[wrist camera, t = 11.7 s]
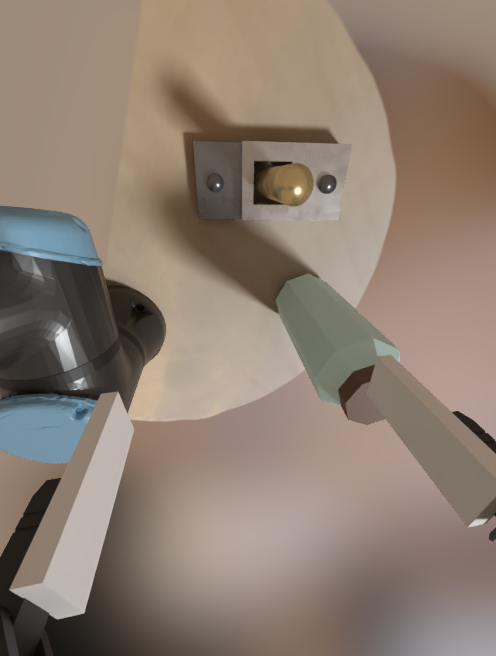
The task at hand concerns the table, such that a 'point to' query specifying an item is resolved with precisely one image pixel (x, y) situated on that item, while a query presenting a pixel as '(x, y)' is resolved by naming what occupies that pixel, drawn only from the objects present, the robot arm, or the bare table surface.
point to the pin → (286, 184)
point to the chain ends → (238, 179)
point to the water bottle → (334, 344)
